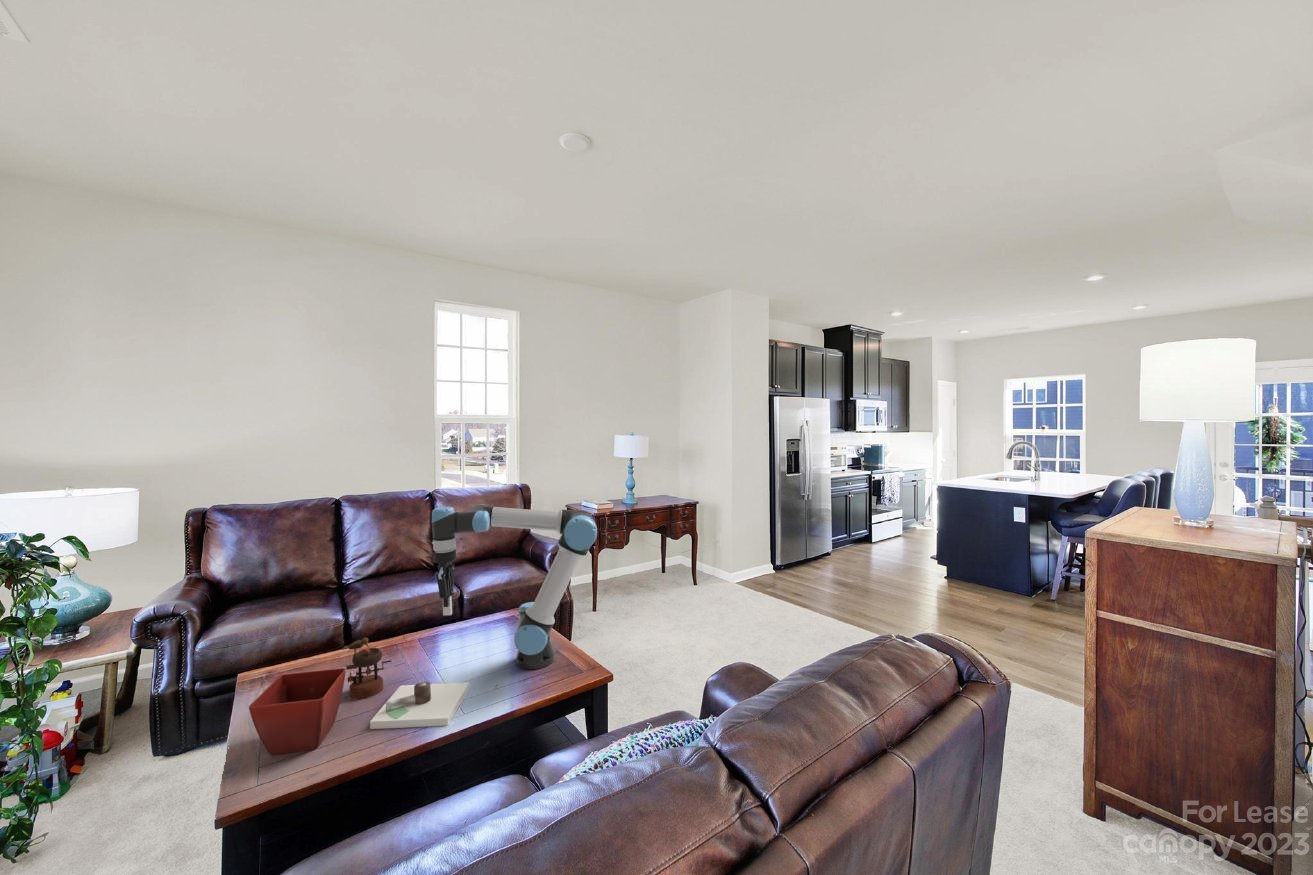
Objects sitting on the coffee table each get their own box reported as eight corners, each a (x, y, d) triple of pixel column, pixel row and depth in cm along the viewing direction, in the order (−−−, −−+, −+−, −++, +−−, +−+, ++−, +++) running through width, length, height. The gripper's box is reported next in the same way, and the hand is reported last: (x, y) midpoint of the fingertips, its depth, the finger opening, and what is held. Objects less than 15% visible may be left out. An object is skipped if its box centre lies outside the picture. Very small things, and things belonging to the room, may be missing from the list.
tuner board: (469, 688, 186) (469, 681, 186) (447, 725, 164) (447, 717, 164) (400, 691, 185) (400, 684, 185) (370, 729, 163) (369, 720, 163)
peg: (429, 694, 178) (428, 678, 178) (432, 700, 174) (431, 685, 174) (385, 707, 170) (384, 691, 170) (387, 714, 166) (386, 698, 166)
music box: (346, 704, 177) (343, 645, 178) (343, 693, 186) (340, 637, 187) (395, 690, 186) (392, 634, 187) (390, 680, 195) (387, 626, 196)
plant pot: (324, 755, 151) (322, 698, 150) (249, 765, 147) (246, 707, 146) (349, 717, 170) (346, 667, 169) (283, 726, 166) (280, 674, 165)
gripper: (440, 546, 194) (443, 608, 195) (427, 555, 181) (430, 622, 182) (460, 545, 194) (463, 607, 195) (449, 554, 181) (452, 621, 182)
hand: (447, 614), depth 188 cm, fingers closed
